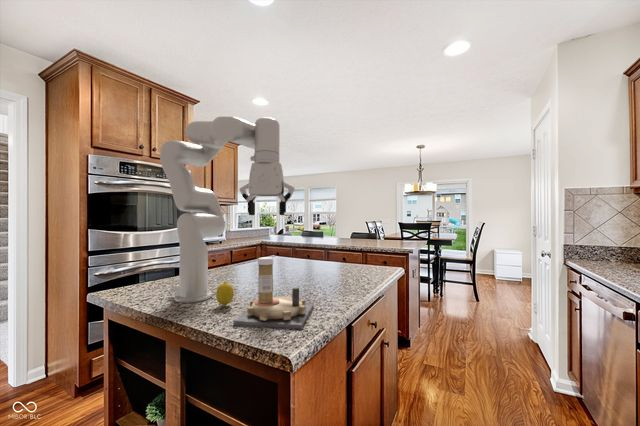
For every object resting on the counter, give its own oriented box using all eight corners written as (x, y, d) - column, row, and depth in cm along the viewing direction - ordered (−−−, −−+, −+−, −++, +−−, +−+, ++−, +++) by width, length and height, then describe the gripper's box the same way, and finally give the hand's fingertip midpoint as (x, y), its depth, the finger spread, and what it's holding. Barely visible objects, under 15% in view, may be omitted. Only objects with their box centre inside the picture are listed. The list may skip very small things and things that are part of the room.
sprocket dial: (265, 299, 95) (265, 279, 95) (314, 304, 89) (314, 282, 90) (234, 316, 78) (235, 291, 78) (292, 324, 73) (292, 297, 73)
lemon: (225, 309, 89) (225, 284, 89) (212, 307, 91) (212, 283, 91) (237, 304, 94) (237, 281, 94) (224, 302, 96) (224, 279, 97)
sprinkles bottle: (274, 299, 87) (274, 256, 87) (271, 304, 82) (271, 258, 83) (259, 299, 87) (259, 256, 87) (256, 304, 82) (256, 258, 83)
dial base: (233, 325, 76) (233, 320, 76) (258, 304, 95) (258, 300, 95) (301, 329, 73) (301, 324, 73) (313, 307, 92) (313, 303, 92)
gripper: (235, 157, 83) (234, 215, 83) (291, 156, 80) (291, 214, 80) (245, 163, 90) (245, 215, 90) (297, 161, 88) (297, 215, 87)
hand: (266, 215), depth 85 cm, fingers open, 9 cm apart
